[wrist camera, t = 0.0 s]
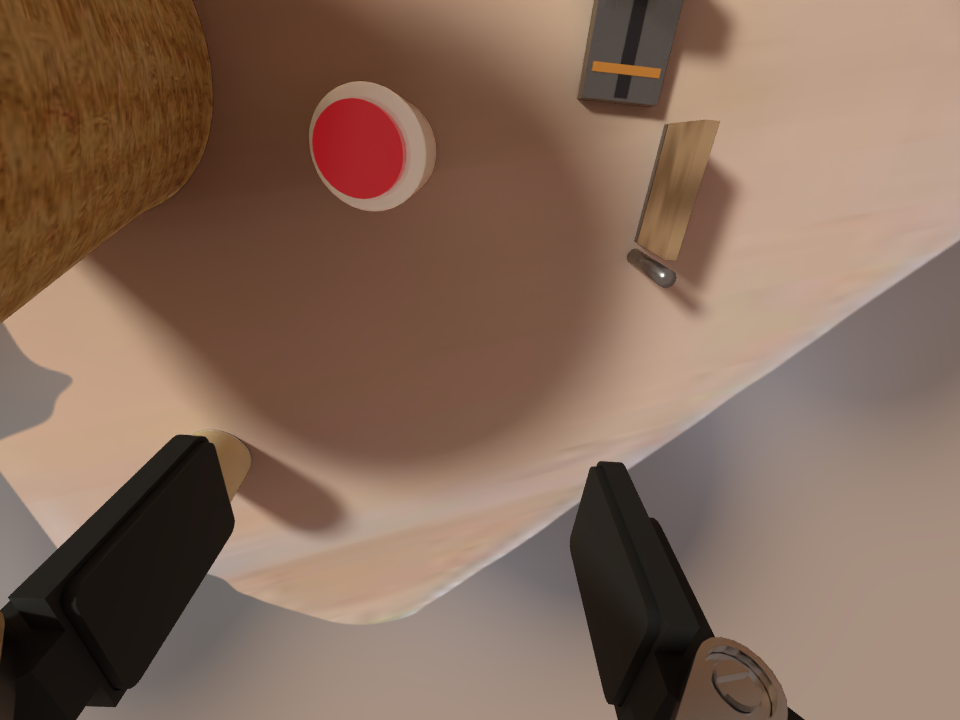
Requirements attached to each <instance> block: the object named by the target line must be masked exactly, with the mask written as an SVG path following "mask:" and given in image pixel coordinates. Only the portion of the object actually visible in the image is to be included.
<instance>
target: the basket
mask: <svg viewBox="0 0 960 720" xmlns="http://www.w3.org/2000/svg"><path fill="white" fill-rule="evenodd" d="M212 112H213V83H212V73H211V65H210V59H209V54H208V49H207V44H206V40H205V37H204V34H203V30H202V27H201V23H200V20H199V17H198V14H197V11H196V9H195V6H194V3H193V1H192V0H0V323H2V322H3V321H4V320H6V319H7V318H8V317H9V316H11V315H12V314H13V313H14V312H16V311H17V310H18V309H20V308H21V307H22V306H23V305H25V304H26V303H27V302H28V301H30V300H31V299H32V298H33V297H35V296H36V295H37V294H39V293H40V292H41V291H42V290H44V289H45V288H46V287H47V286H49V285H50V284H51V283H53V282H54V281H55V280H56V279H58V278H59V277H60V276H61V275H63V274H64V273H65V272H66V271H68V270H69V269H70V268H72V267H73V266H74V265H75V264H77V263H78V262H79V261H81V260H82V259H83V258H84V257H86V256H87V255H88V254H90V253H91V252H92V251H94V250H95V249H96V248H97V247H99V246H100V245H101V244H103V243H104V242H105V241H107V240H108V239H109V238H110V237H112V236H113V235H114V234H116V233H117V232H118V231H120V230H121V229H122V228H123V227H125V226H126V225H127V224H129V223H130V222H131V221H133V220H134V219H135V218H136V217H138V216H139V215H141V214H142V213H143V212H145V211H146V210H148V209H151V208H153V207H155V206H157V205H159V204H161V203H163V202H164V201H166V200H167V199H169V198H170V197H171V196H173V195H174V194H175V193H177V192H178V191H179V190H180V189H181V188H182V187H183V185H184V184H185V183H186V182H187V181H188V180H189V178H190V177H191V175H192V174H193V172H194V171H195V169H196V168H197V166H198V164H199V162H200V160H201V158H202V156H203V153H204V150H205V147H206V144H207V141H208V137H209V132H210V127H211V120H212Z"/></svg>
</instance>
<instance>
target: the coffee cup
mask: <svg viewBox="0 0 960 720" xmlns="http://www.w3.org/2000/svg"><path fill="white" fill-rule="evenodd" d="M193 435H195V436H205V437H206V438H207V439H208V440H209V443H213V444H214V445H215V448H216V451H217V455H218V459H219V463H220V466H221V470H222V474H223V478H224V481H225V485H226V489H227V493H228V496H229V500H230V503H231V501H232V499H233V497H234V496H235V494H236V492H237V490H238V489H239V487H240V485H241V483H242V482H243V480H244V478H245V477H246V475H247V473H248V471H249V469H250V467H251V462H252V460H251V455H250V452H249V450H248V449H247V447H246V446H245V445H244V444H243V443H242V442H241V441H240V440H239V439H237V438H236V437H234V436H232V435H231V434H228V433H226V432H222V431H218V430H202V431H199V432H196V433H194V434H193Z"/></svg>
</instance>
